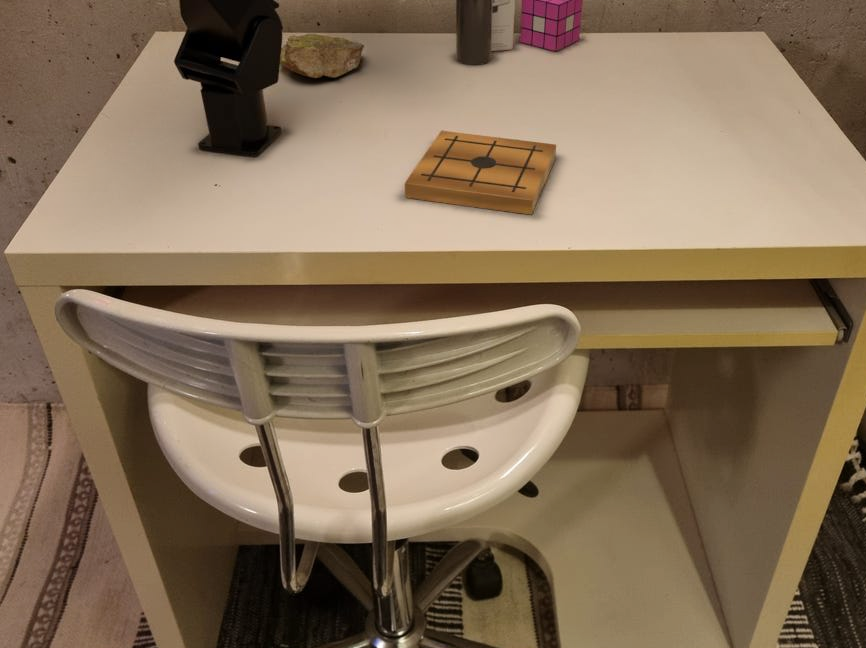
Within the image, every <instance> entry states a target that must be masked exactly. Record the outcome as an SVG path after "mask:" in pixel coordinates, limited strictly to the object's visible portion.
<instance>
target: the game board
mask: <svg viewBox="0 0 866 648" xmlns="http://www.w3.org/2000/svg"><path fill="white" fill-rule="evenodd" d="M556 156H557V144H555V143H547V142H540V141H539V142H537V141H532V140H531V141H530V140H523V139H514V138H505V137H498V136H490V135H482V134H473V133H464V132H456V131H448V130H440V132H439V133H438V134H437V136H436V137H435V139H434V140H433V142H432V143H431V145H430V146H429V147H428V149H427V150H426V152H425V153H424V155H423V156H422V158H421V159H420V160H419V161H418V163H417V165H416V166H415V167H414V168H413V170H412V172H411V173H410V175H409V176H408V177H407V179H406V180H405V182H404V196H405V198H406V199H407V198H408V199H414V200H421V201H428V202H434V203H435V202H436V203H442V204H443V203H444V204H449V205H451V204H452V205H457V206H463V207H464V206H465V207H472V208H479V209H487V210H494V211H502V212H508V213H509V212H510V213H516V214H524V215H533V212H534V210H535V208H536V205H537V203H538V200H539V198H540V196H541V193H542V191H543V189H544V187H545V184H546V181H547V179H548V177H549V174H550V172H551V169H552V167H553V165H554V162H555V160H556V158H557V157H556Z"/></svg>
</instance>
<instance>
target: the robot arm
mask: <svg viewBox="0 0 866 648" xmlns="http://www.w3.org/2000/svg"><path fill="white" fill-rule="evenodd" d="M178 3H179V13H180V17H181V19H182V21H183V23H184V24H185V27H186V28H187V29H186V31H185V33H184V35H183V38H182V39H181V43H180V46H179V47H178V50H177V52H176V54H175V57H174V59H173V63H174V66H175V67H176V70H177V71H178V73H179V75H180V77H181V78H182V79H183V80H186V81H192V82H197V83H200V87H201V88H200V95H201V100H202V105H203V110H204V114H205V119H206V124H207V130H208V134H207V135H206V136H205V137H204V138H202V139H201V140H199V142H198V143H197V147H198V149H199V150H202V151H203V150H205V151H212V152H218V153H219V152H220V153H227V154H234V155H241V156H250V157H256V156H258V155H259V154H261V153H262V152H263V151H264V150H265V149H266V148H267V147H268V146H269V145H270V144H271V143H272V142H273V141H274V140H275V139H276V138H277V137H279V135H280V134H282V133H283V129H282V126H281V125H275V124H274V125H273V124H268V115H267V109H266V104H265V96H264V91H263V90H265V89H267V88H269V87H272V86H274V85H276V84H277V83H278V82H279V77H280V67H281V64H280V58H281V48H282V47H283V30H284V27H283V22H282V19H281V17H280V15H279V12H278V11H277V10H276V9H279V8H280V4H279V2H277V1H275V0H178ZM222 58H223V59H226V60H229V61H233V62H237V63H238V64H235V63H231V62H228V61H223V60H222Z"/></svg>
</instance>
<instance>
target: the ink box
mask: <svg viewBox="0 0 866 648" xmlns="http://www.w3.org/2000/svg"><path fill="white" fill-rule="evenodd" d="M515 11H516V0H493V9H492V52H499V51H509V50H513V48H514V37H515V36H514V35H515V34H514V33H515V32H514V31H515V15H516V14H515Z"/></svg>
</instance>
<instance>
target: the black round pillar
mask: <svg viewBox="0 0 866 648" xmlns="http://www.w3.org/2000/svg"><path fill="white" fill-rule="evenodd" d="M492 9H493V0H455V37H456V38H455V39H456V40H455V42H456V43H455V47H456V48H455V49H456V50H455V51H456V56H455V58H456V60H457V61H458V62H459V63H461V64H464V65H470V66H476V65H477V66H478V65H484V64H487V63H489V62H491V61H492V52H493V51H492Z"/></svg>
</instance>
